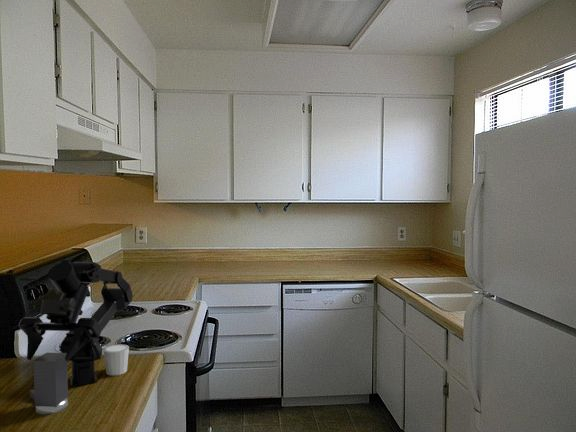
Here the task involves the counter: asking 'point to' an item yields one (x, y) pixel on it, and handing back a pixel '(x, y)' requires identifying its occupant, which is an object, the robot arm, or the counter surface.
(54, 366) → the dark grey square block
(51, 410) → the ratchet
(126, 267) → the counter surface
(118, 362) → the white tapered cup
